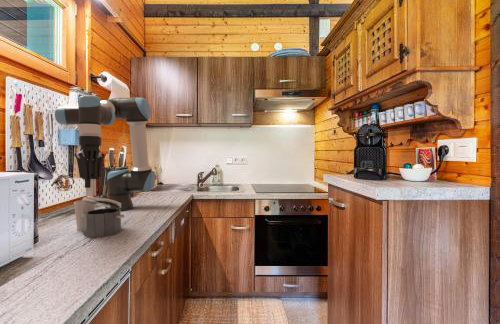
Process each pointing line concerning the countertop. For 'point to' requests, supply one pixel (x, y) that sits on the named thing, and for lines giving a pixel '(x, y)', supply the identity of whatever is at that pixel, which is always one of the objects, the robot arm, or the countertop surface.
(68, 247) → the countertop surface
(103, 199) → the lid
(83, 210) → the cup
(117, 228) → the pot
